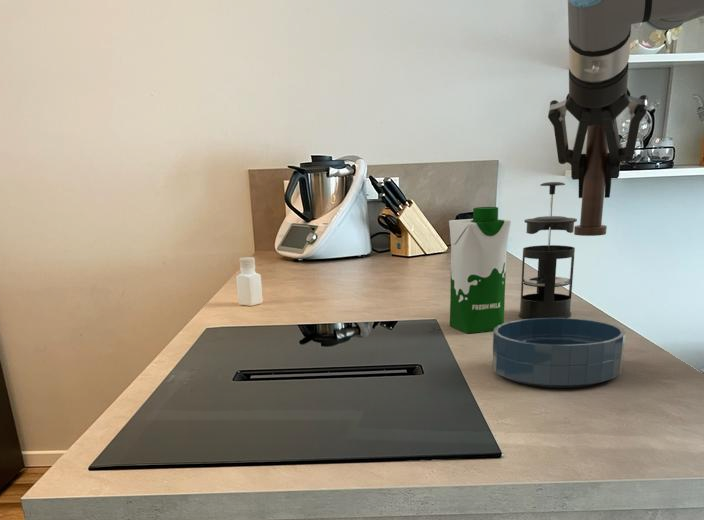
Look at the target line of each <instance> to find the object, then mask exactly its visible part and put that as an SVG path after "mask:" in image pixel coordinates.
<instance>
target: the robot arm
mask: <svg viewBox="0 0 704 520" xmlns="http://www.w3.org/2000/svg"><path fill="white" fill-rule="evenodd" d="M701 17H704V0H567V22H568V23H567V24H568V27H567V28H568V68H569V69H568V93H567V94H566V97H565V99H564V100H562V101H560V102H559V101H558V100H555V99H554V100H551V101H550V102H549V107H548V113H547V114H548V115H547V118H548V120H549V121H550V123H551V125H552V126H553V131H554V138H555V146H556V151H557V152H556V154H557V161H558V164H560V165H565V164H566V163H567V164H569V165H570V170H571V171H570V172H571V173H570V177H571V179H572V180H573V181H576V180H577V181H578V199H582V193H583V180H584V168H585V155H586V153H583V148H584V145H585V141H586V137H587V129H588V126H592V125H596V124H597V125H603V126H604V132H605V133H606V138H607V143H608V155H607V162H606V175H605V190H604V199H605V198H606V199H607V198H610V197H611V189H612V180H613V179H618V178H619V177H620V171H621V163H623V162H625V163H630V162H632V161H633V159H634V155H635V150H636V145H637V139H638V135H639V129H640V125H641V124H640V123H641V121H642V120H643V119H644V117H645V116H646V114H647V112H648V103H649V97H648V95H646V94H642V95H640V96H639V97H635V96H632V95H631V92H630V90H629V89H628V78H629V66H630V65H629V59H630V51H631V50H630V49H631V37H632V25H635V24H636V25H637V24H640V23H641V24H643V23H645V25H647V26H648V27H649V28H651V29H654V30H657V31H670V30H673V29H676V28H679V27H681V26H682V25H683V24H685V23H687V22H690V21H692V20H696V19H699V18H701ZM626 108H628V114H629V115H630V120H629V124H628V125H629V126H628V130H627V136H626V142H625V146H624V147H622V145H621V140H620V134H619V127H618V122H617V118H618V117H619V116H620V115H621V114H622V113H623V112H624V111H625V110H626ZM567 111H568V112H569V113H570V115H572V117H574V119H576V120H577V121H578V124H577V130H576V133H575V138H574V139H575V140H574V143H573V148H572V149H571V148H570V149H569V140H568V133H567V123H566V116H567Z"/></svg>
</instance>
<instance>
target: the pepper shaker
mask: <svg viewBox="0 0 704 520" xmlns="http://www.w3.org/2000/svg"><path fill="white" fill-rule="evenodd" d="M238 262H239V269H240V273H239V274H237V275H236V277H235V281H236V293H237V302H238V305H239V306H247V307H248V306H249V307H254V306H257V305H261V304H262V303H263V301H264V299H263V289H262V288H263V286H262V275H261V274H260V273H257V272H256V259H255V257H253V256H246V257H239V259H238Z"/></svg>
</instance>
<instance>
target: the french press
mask: <svg viewBox="0 0 704 520" xmlns="http://www.w3.org/2000/svg"><path fill="white" fill-rule="evenodd" d="M565 185H566V183H564V182H561V181H549V182H543V183H541V184H540V187H549V195H550V203H549V204H550V205H549V215H547V216H546V215H545V216H537V217H533V218H527V219H524V221H523V222H524V223H526V231H525V233H526V234H529V235H534V234H537V233H538V232H540V231H548V235H547V236H548V237H547V244H546V245H545V244H544V245H530V246H526V247H523V248H522V263H521V281H520V282H521V283H520V285H521V286H520V304H519V312H518V317H519V318H521V319H531V318H572V312H571V306H572V293H573V292H572V290H573V280H574V279H573V278H574V266H575V250H576V247H574V246H570V245H557V244H555V245H554V244H551V236H552V234H551V233H552V231H565V232H566V233H570V234H574V228H575V223H576V222H578V219H577V218H574V217H566V216H562V215H561V216H560V215H559V216H558V215H553V202H554V195H555V194H556V187H557V186H558V187H559V186H565ZM525 259H530V260H531V259H532V260H538V262H537V276H532V277H527V278H525ZM561 259H562V260H563V259H564V260H565V259H570V262H571V263H570V273H569V278H567V277H561V276H557V260H561ZM524 285H525V286H528V287H535V288H536V293H529V294H524ZM565 286H568V287H569V288H568V294H562V293H556V292H555V291H556V288H559V287H565Z"/></svg>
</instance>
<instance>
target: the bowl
mask: <svg viewBox="0 0 704 520" xmlns="http://www.w3.org/2000/svg"><path fill="white" fill-rule="evenodd" d="M626 334H627V333H626V331H625V329H624V328H622V327H620V326H618V325H616V324H613V323H610V322H605V321H600V320H595V319H588V318H587V319H586V318H576V317H569V318H531V319H524V318H522V319H516V320H512V321H507V322H504V323H503V324H501V325H498V326H497V327H496V328H494V331H493V334H492V335H493V336H492V337H493V338H492V341H493V342H492V363H491V369H492V371H493V372H495V374H497V375H499V376H501V377H503V378H505V379H509V380H510V381H513V382H516V383H518V384H522V385H527V386H531V387H532V386H533V387H539V388H551V389H571V388H572V389H573V388H582V387H583V388H584V387H588V386H589V387H590V386H595V385H597V384H600V383H603V382H605V381H606V382H607V381H611V380H613V379H614V378H616V377H619V376H620V374H621V373H622V372H623V364H624V363H623V362H624V352H625V344H626V343H625V342H626Z"/></svg>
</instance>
